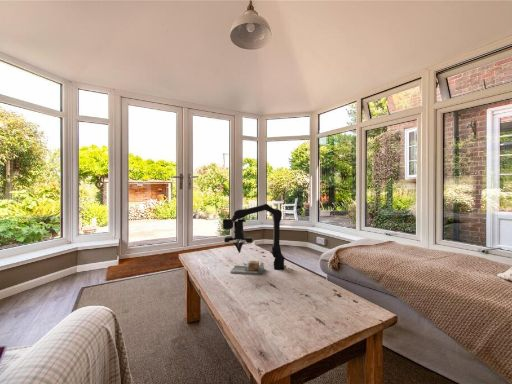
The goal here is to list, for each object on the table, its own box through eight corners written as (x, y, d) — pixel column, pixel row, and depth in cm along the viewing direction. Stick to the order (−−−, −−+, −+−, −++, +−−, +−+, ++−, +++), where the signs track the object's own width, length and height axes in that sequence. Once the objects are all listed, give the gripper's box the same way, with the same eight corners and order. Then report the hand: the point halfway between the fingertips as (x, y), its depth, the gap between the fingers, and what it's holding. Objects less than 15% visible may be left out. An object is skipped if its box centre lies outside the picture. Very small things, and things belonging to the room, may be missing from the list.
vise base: (263, 268, 160) (263, 262, 160) (261, 274, 150) (260, 267, 150) (234, 267, 164) (234, 261, 164) (230, 273, 154) (230, 266, 154)
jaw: (250, 267, 160) (250, 262, 160) (247, 271, 153) (247, 266, 153) (247, 266, 161) (247, 262, 161) (244, 271, 153) (244, 266, 153)
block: (259, 268, 158) (258, 261, 158) (257, 271, 153) (257, 263, 153) (250, 268, 159) (249, 260, 159) (248, 270, 155) (248, 263, 154)
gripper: (255, 226, 163) (256, 249, 164) (229, 226, 167) (229, 248, 167) (251, 230, 152) (252, 254, 153) (223, 229, 156) (224, 253, 157)
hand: (239, 252), depth 158 cm, fingers closed
